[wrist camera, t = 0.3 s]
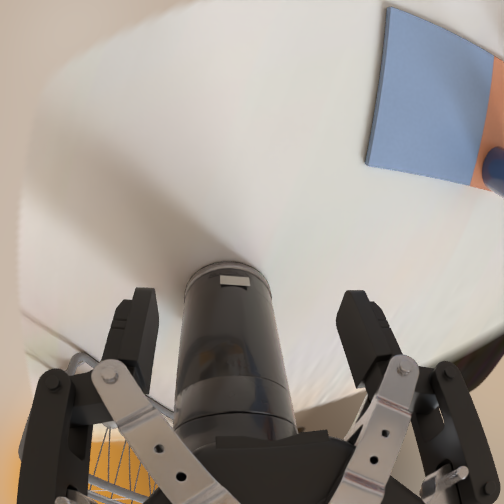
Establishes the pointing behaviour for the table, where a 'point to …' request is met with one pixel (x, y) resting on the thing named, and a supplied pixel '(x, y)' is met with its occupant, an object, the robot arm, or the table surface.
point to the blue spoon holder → (494, 170)
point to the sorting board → (435, 103)
